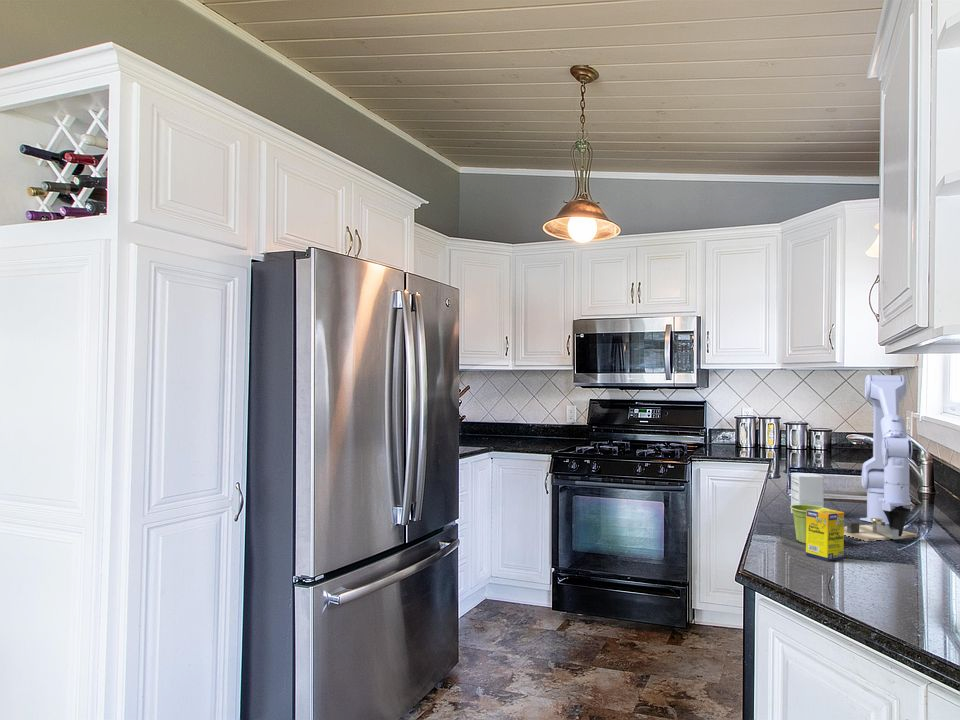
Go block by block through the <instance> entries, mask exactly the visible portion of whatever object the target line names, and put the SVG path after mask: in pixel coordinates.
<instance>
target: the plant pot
mask: <svg viewBox="0 0 960 720" xmlns="http://www.w3.org/2000/svg"><path fill="white" fill-rule="evenodd" d="M821 508H825V509H829V508H827V507H820V506H813V505H792V506H791V505H790V510H791V509H792V513H793V514H792V513H791V514H792V515H793V523H794V531H795V537H796V541H798V542H799V543H801V542H802V544H806V510H807V509H809V510H811V509H821Z"/></svg>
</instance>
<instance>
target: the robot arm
mask: <svg viewBox="0 0 960 720" xmlns="http://www.w3.org/2000/svg"><path fill="white" fill-rule="evenodd" d="M906 392H907V379H906V377H905V376H904V375H903V374H900V375H897V374H895V375H893V374H891V375H890V374H889V375H888V374H867V375H866V376H865V378H864V398H865V401H866V402H868V403H871V405H872V408H873V417H872V418H873V421H872V423H873V426H872V427H873V431H872V432H873V437H872V457H871V458H870V459H867V460H866V461H864V462H863V464H862V468H861V487H862V488H863V489H864V490H866V517H860V518H859V520H860V521H864V522H867V523H872V524H873V521H871V518H880V519H882V521H883V522H885V525H888V526H890V527H893V528H896V529H898V530H899V536H902V532H903V531H904V527H905V524H906V523H907V519H908V516H909V514H910V513H911V508H908V507H905V506H911V503H912V500H911V499H912V498H911V497H910V460H912V458H913V457H912V456H913V443H912V440H911V437H910V435H909V434H908V432H907V427H906V421H905V419H904V417H902V416H901V415H900V412H899V411H900V409H899V403H900V402H901V401H902V399H903V398H904V396H905V395H906Z"/></svg>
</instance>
